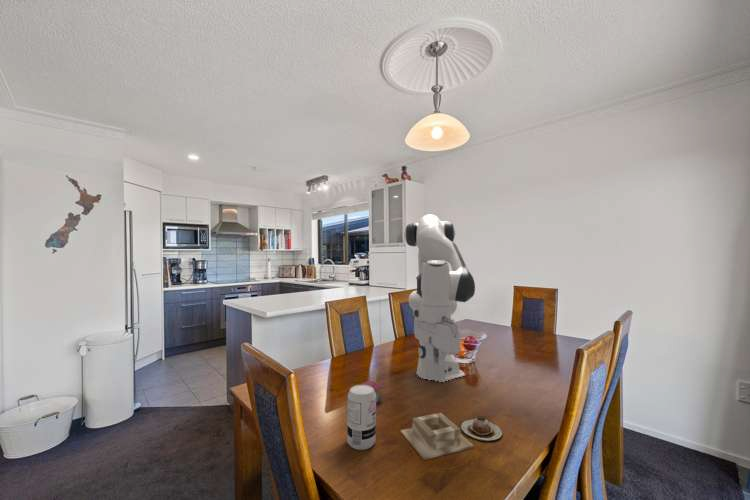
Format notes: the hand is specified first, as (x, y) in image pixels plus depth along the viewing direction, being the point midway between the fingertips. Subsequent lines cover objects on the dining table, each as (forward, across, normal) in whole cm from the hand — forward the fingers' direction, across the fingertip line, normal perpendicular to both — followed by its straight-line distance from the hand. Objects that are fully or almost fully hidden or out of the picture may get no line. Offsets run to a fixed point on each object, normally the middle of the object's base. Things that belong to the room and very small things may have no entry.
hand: (435, 361), depth 90 cm
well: (+23, 0, 0) cm, 23 cm away
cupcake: (+23, +30, +9) cm, 39 cm away
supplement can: (+23, +6, +21) cm, 32 cm away
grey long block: (+5, 0, 0) cm, 5 cm away
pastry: (+23, -1, -16) cm, 28 cm away
